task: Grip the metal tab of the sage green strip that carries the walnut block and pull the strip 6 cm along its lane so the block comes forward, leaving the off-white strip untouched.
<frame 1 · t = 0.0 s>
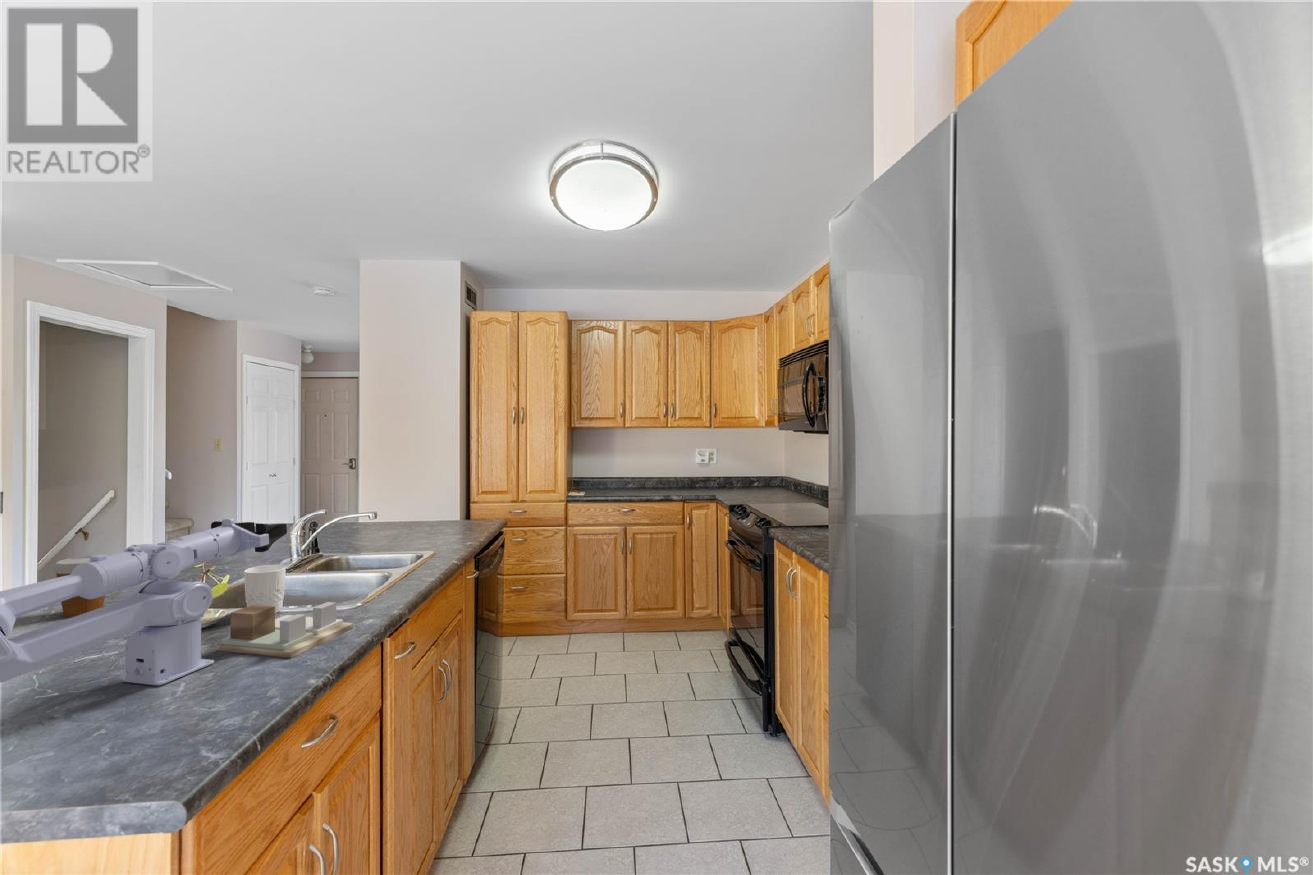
hand: (269, 527, 116), 22 cm above the countertop, tool horizontal, fingers open, 7 cm apart
walnut block: (253, 634, 110), point 2 cm above the countertop, touching green strip
white strip: (301, 614, 117), point 3 cm above the countertop, slide at 0.0 cm
green strip: (268, 628, 109), point 3 cm above the countertop, slide at 0.0 cm, touching walnut block
white cup: (265, 612, 129), on the countertop
disposable coffee cup: (83, 613, 127), on the countertop
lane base: (289, 638, 113), on the countertop
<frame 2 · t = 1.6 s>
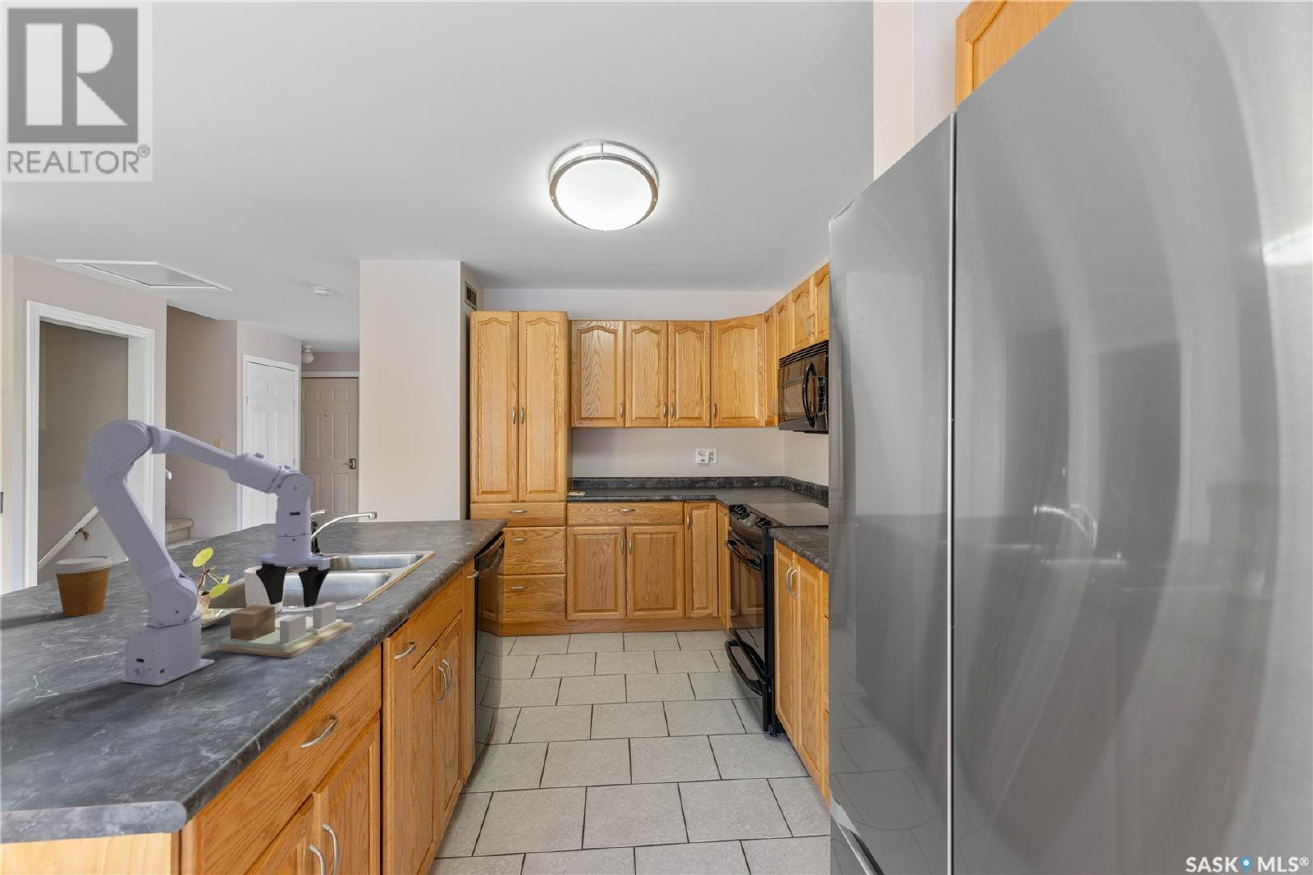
hand: (293, 604, 108), 8 cm above the countertop, tool pointing down, fingers open, 7 cm apart
nothing on the countertop moved.
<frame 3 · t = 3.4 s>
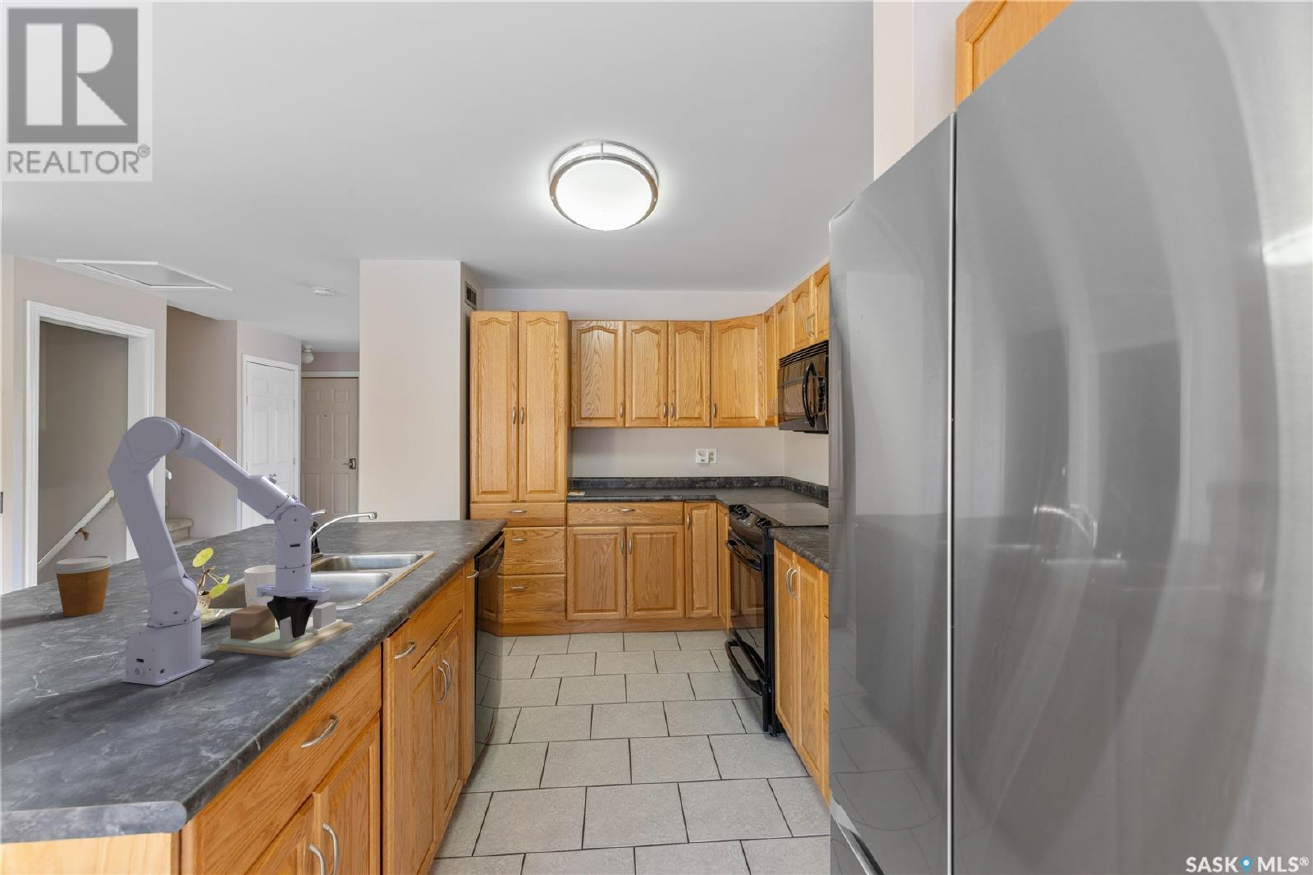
hand: (292, 635, 108), 2 cm above the countertop, tool pointing down, fingers closed on green strip, 2 cm apart
green strip: (268, 628, 109), point 3 cm above the countertop, slide at 0.0 cm, touching gripper, walnut block
everything else where it was.
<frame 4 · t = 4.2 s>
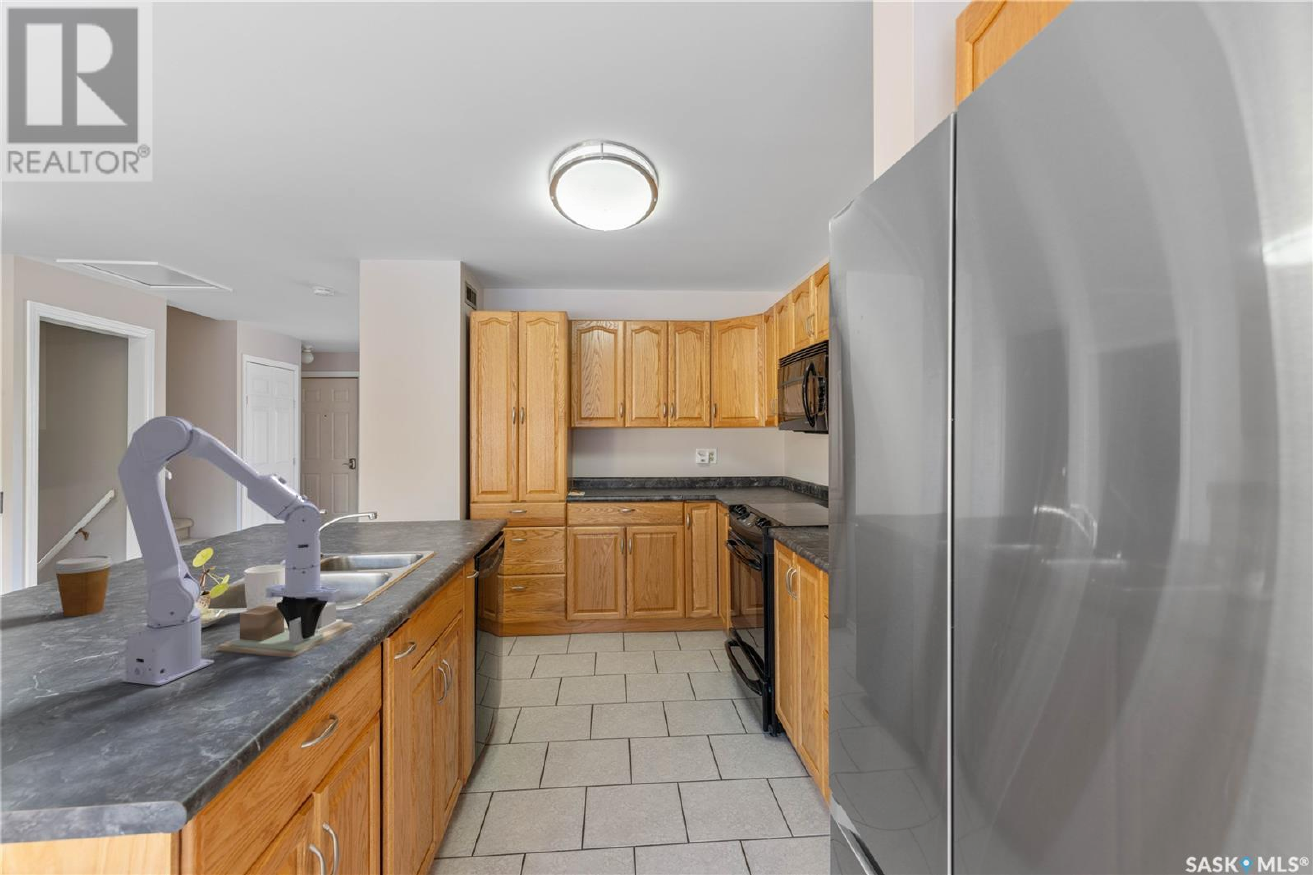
hand: (302, 636, 108), 2 cm above the countertop, tool pointing down, fingers closed on green strip, 2 cm apart
walnut block: (262, 635, 109), point 2 cm above the countertop, touching green strip
green strip: (277, 628, 109), point 3 cm above the countertop, slide at 2.1 cm, touching gripper, walnut block
everything else where it was.
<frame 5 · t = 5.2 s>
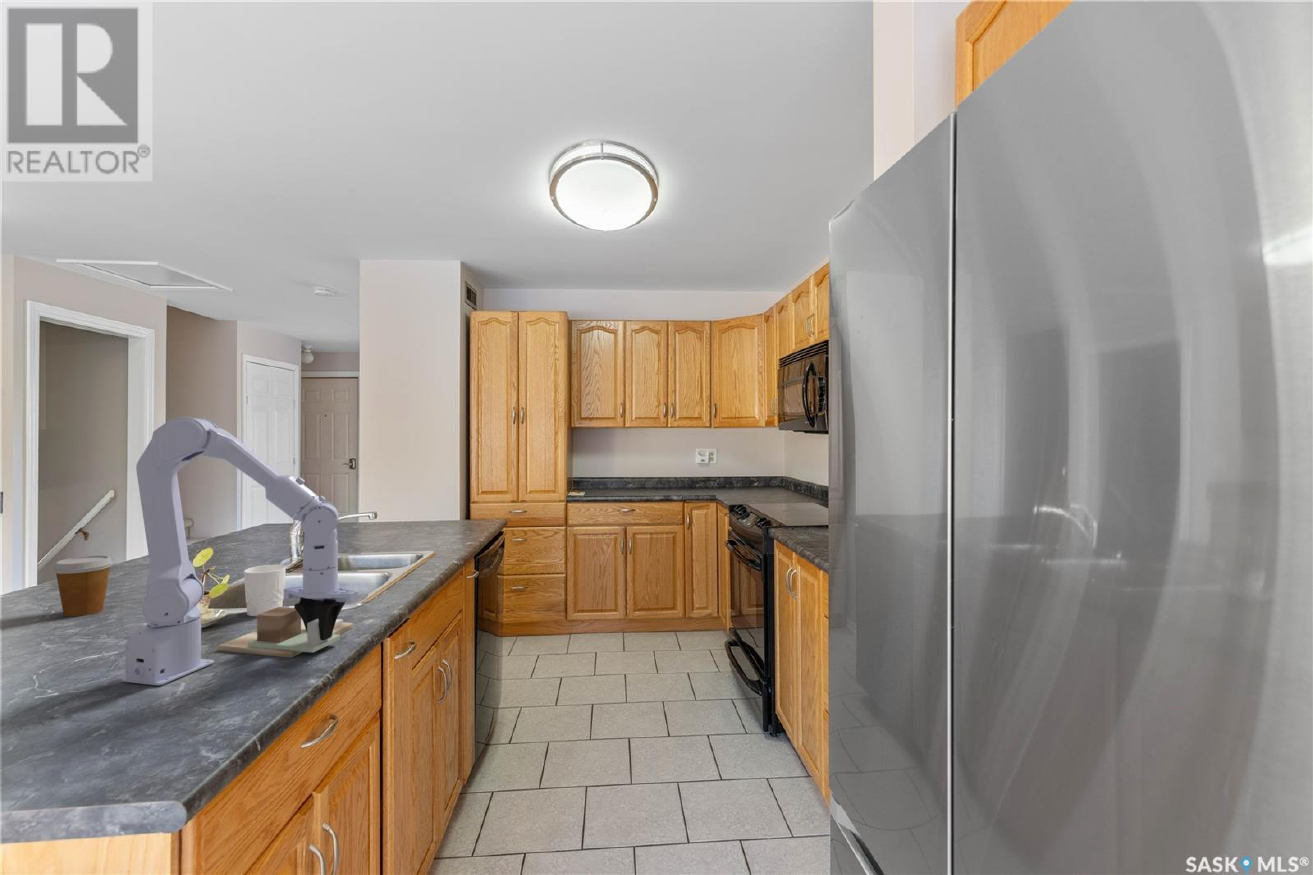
hand: (320, 638, 107), 2 cm above the countertop, tool pointing down, fingers closed on green strip, 2 cm apart
walnut block: (279, 637, 109), point 2 cm above the countertop, touching green strip
green strip: (295, 630, 108), point 3 cm above the countertop, slide at 6.0 cm, touching gripper, walnut block
everything else where it was.
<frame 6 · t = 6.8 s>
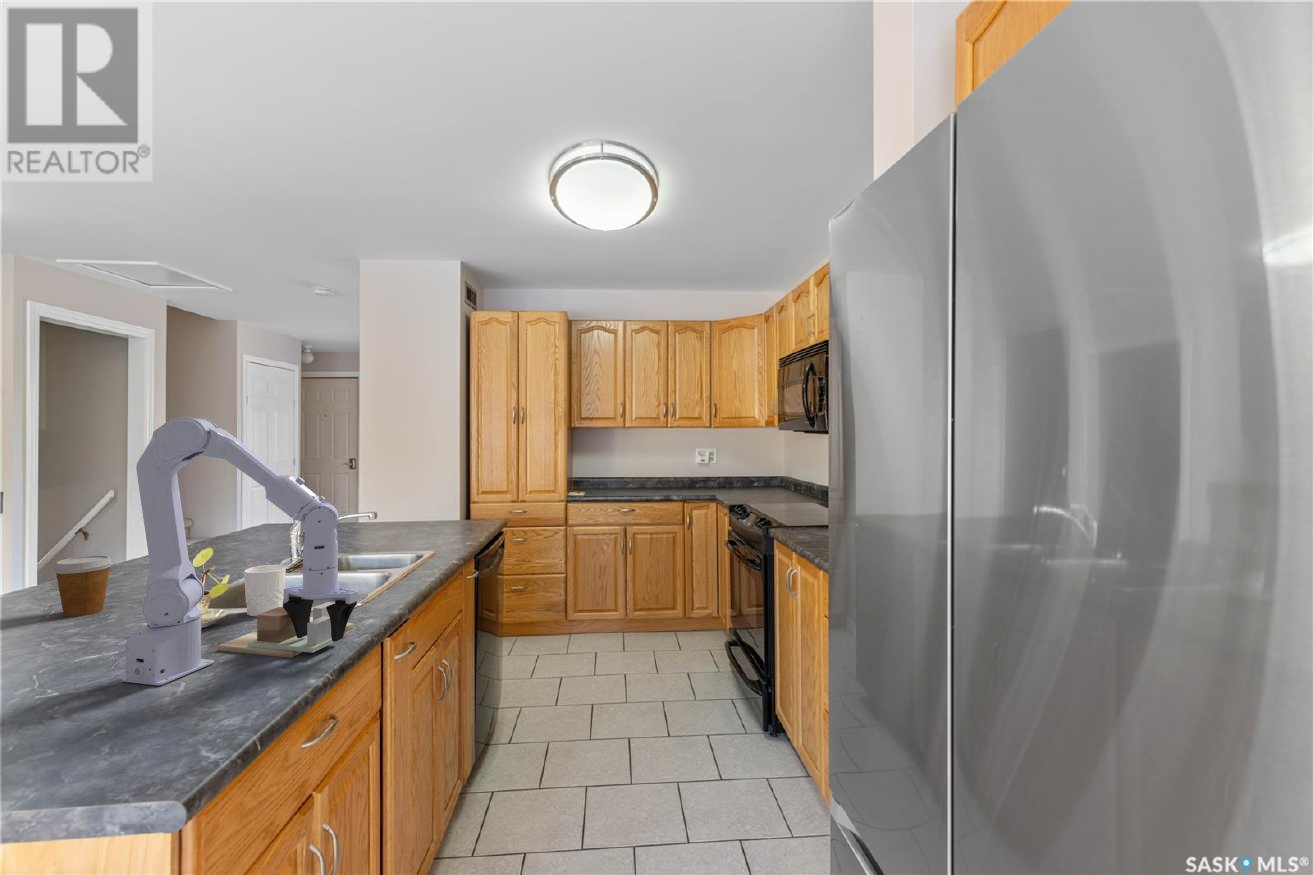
hand: (320, 638, 107), 2 cm above the countertop, tool pointing down, fingers open, 7 cm apart
green strip: (295, 630, 108), point 3 cm above the countertop, slide at 6.0 cm, touching walnut block
everything else where it was.
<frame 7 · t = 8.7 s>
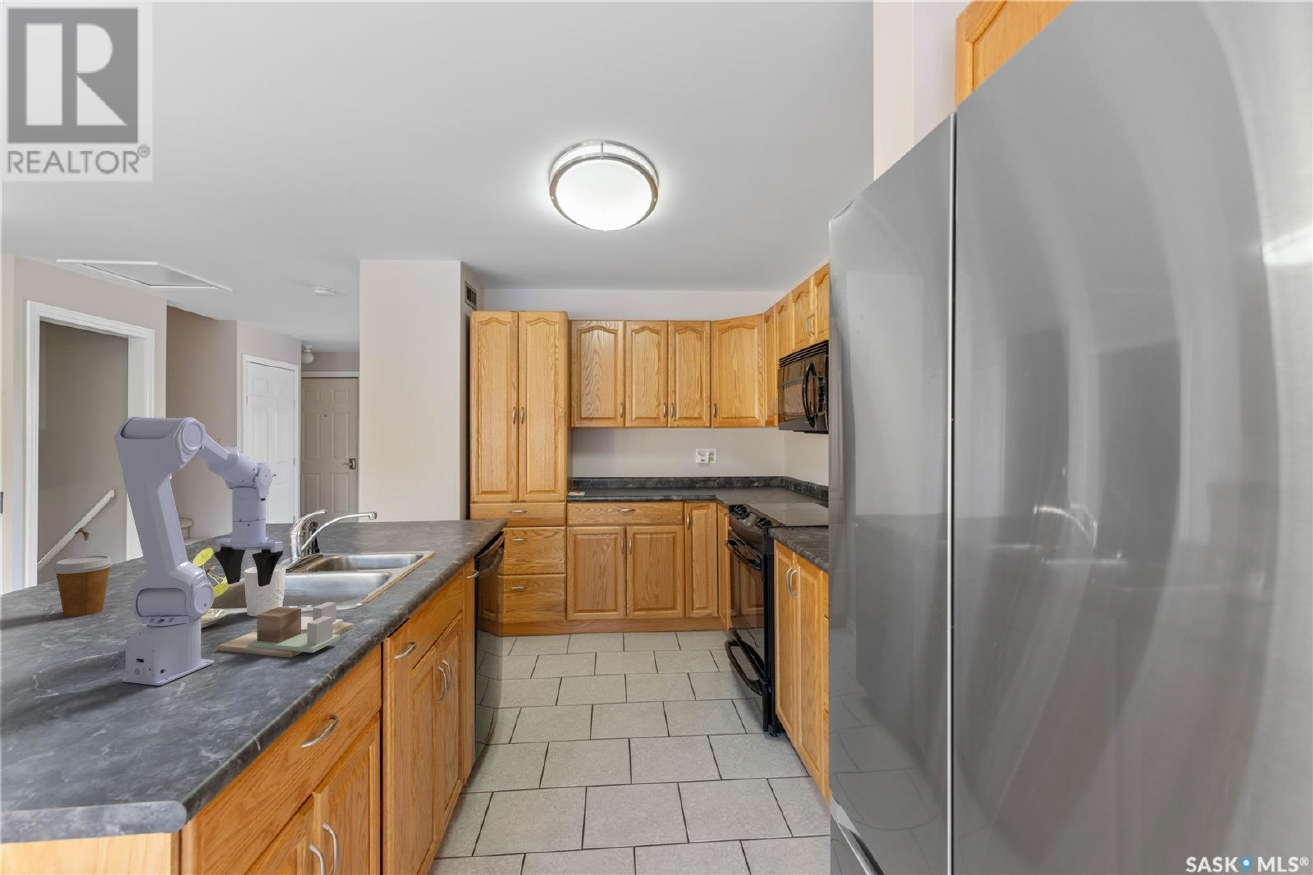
hand: (249, 584, 118), 9 cm above the countertop, tool pointing down, fingers open, 7 cm apart
nothing on the countertop moved.
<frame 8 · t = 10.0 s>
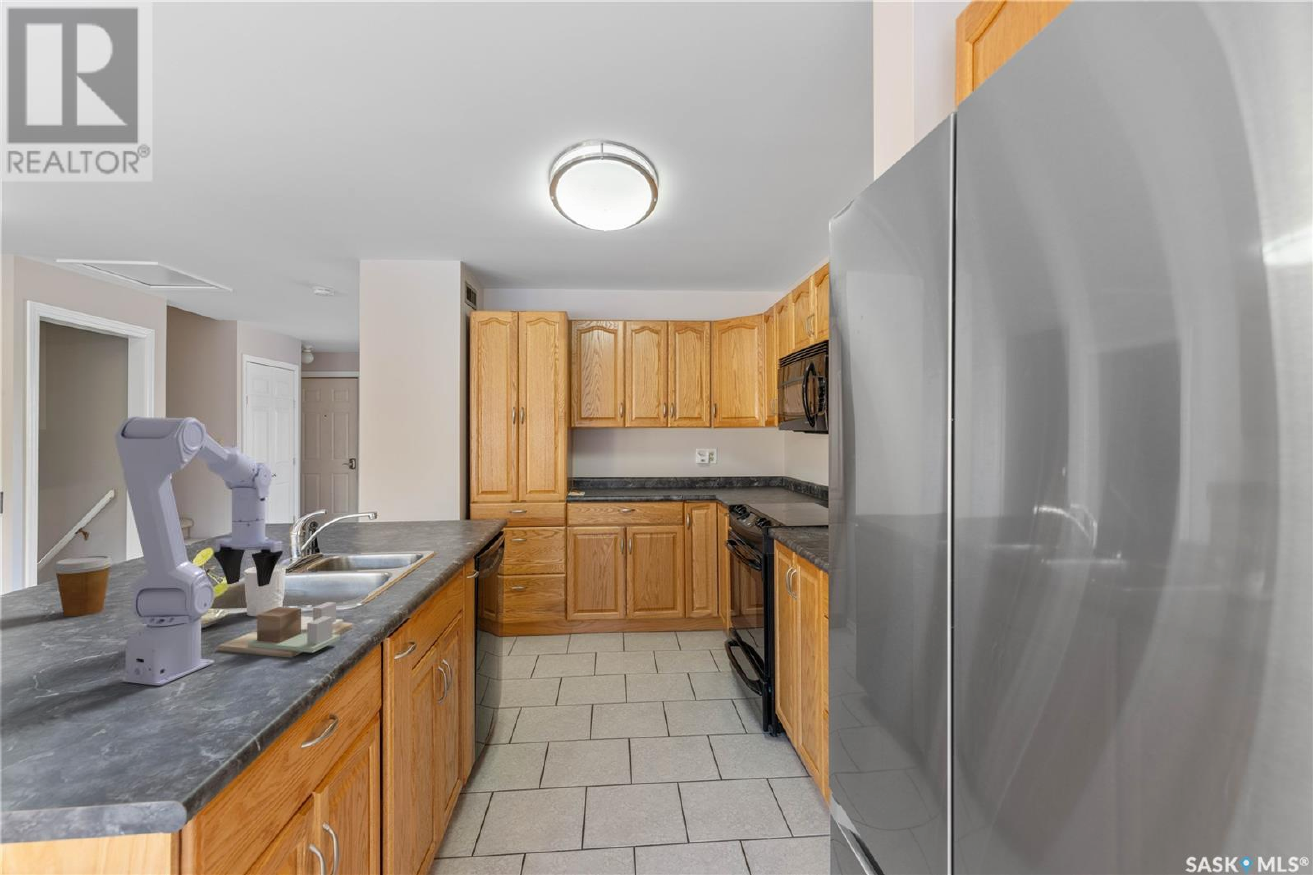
hand: (248, 584, 118), 9 cm above the countertop, tool pointing down, fingers open, 7 cm apart
nothing on the countertop moved.
at the end: green strip slide at 6.0 cm; walnut block 0.0 cm from the target spot, point 1.8 cm above the countertop; white strip slide at 0.0 cm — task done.
